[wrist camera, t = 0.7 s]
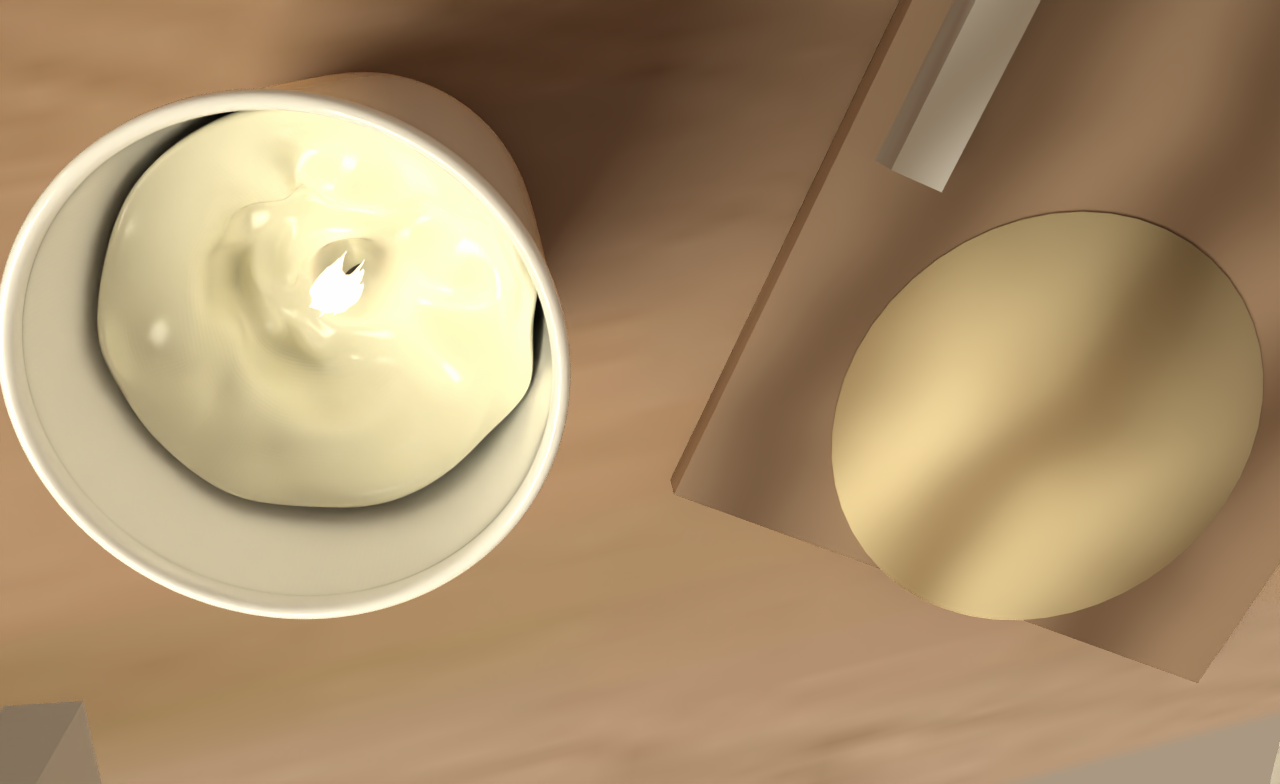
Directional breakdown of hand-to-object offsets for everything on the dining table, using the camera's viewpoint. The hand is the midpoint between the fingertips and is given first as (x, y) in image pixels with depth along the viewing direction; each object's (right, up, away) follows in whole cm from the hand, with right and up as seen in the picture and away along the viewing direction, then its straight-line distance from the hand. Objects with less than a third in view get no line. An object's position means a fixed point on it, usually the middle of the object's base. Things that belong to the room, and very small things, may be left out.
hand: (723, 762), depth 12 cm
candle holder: (-8, +9, +19) cm, 22 cm away
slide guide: (+14, +9, +20) cm, 26 cm away
